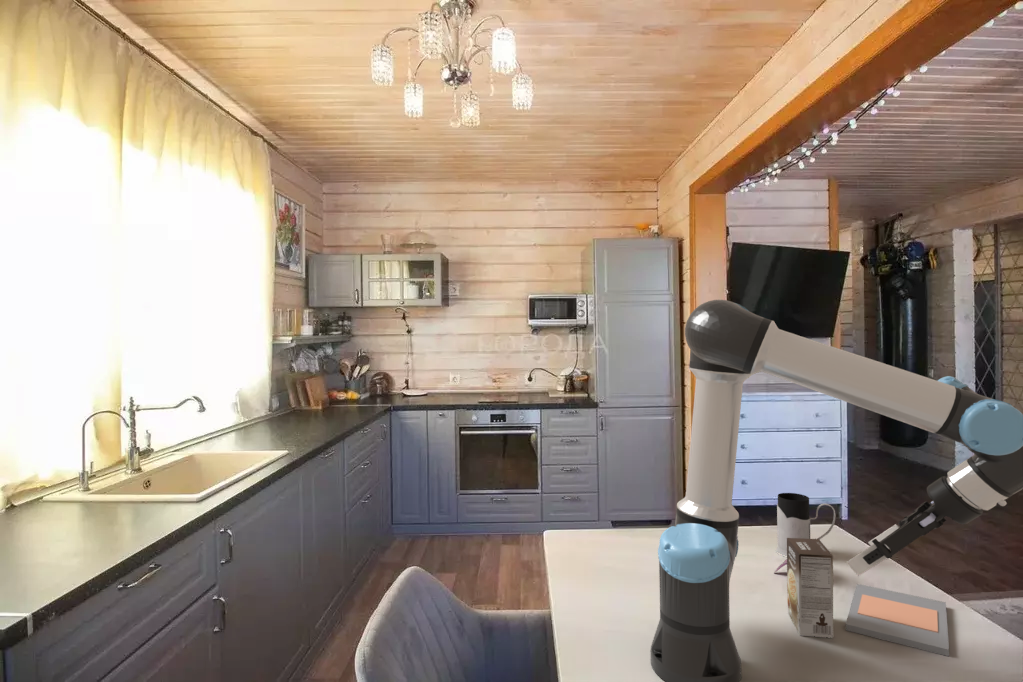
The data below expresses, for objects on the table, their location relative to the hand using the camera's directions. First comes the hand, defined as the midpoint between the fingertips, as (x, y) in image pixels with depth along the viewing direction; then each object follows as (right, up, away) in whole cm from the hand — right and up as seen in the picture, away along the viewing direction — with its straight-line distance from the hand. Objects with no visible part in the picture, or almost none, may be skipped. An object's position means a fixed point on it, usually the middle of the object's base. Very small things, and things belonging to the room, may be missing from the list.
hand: (863, 558), depth 106 cm
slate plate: (+13, -16, +9) cm, 22 cm away
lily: (+3, -16, +31) cm, 35 cm away
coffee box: (-6, -16, +7) cm, 19 cm away
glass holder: (+12, -16, +43) cm, 48 cm away
